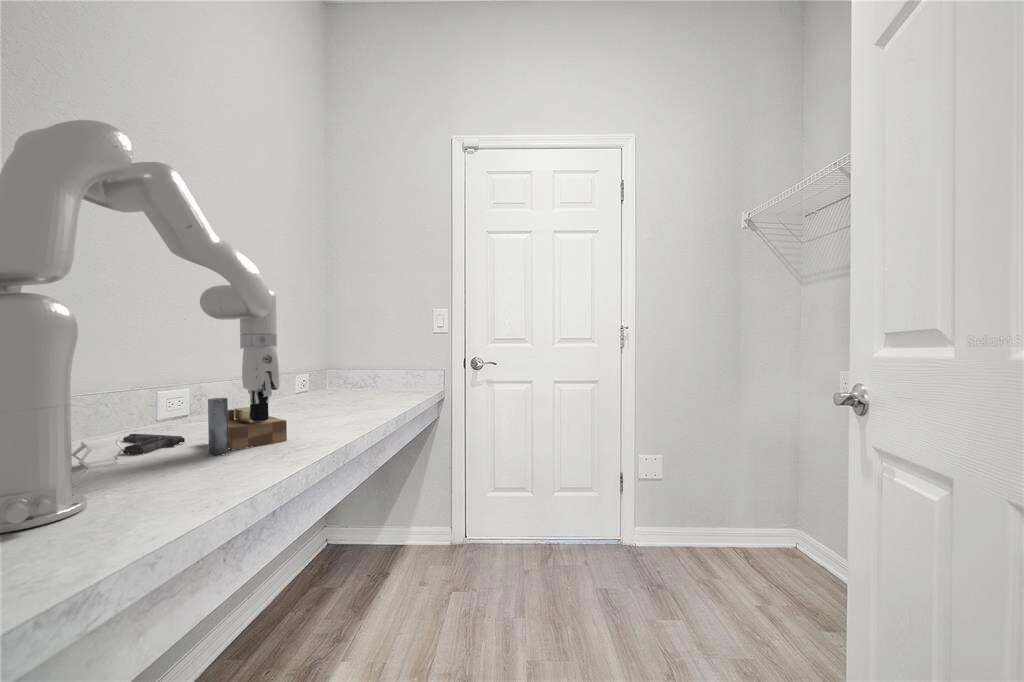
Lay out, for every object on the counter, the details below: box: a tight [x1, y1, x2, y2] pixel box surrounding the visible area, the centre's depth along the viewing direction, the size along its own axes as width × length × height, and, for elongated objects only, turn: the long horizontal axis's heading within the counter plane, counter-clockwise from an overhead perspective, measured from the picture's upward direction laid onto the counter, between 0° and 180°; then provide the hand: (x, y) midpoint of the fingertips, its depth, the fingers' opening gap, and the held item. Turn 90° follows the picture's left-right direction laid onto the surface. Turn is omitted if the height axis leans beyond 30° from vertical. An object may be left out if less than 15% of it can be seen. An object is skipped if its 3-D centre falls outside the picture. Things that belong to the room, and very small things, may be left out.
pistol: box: [122, 433, 186, 455], centre depth 108 cm, size 2×19×12 cm
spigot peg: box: [207, 397, 229, 456], centre depth 100 cm, size 4×4×12 cm
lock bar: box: [233, 403, 259, 423], centre depth 112 cm, size 10×3×4 cm, turn 50°
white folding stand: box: [71, 435, 125, 473], centre depth 91 cm, size 12×8×5 cm
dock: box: [228, 406, 288, 451], centre depth 112 cm, size 12×12×8 cm
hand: (259, 420), depth 108 cm, fingers closed
